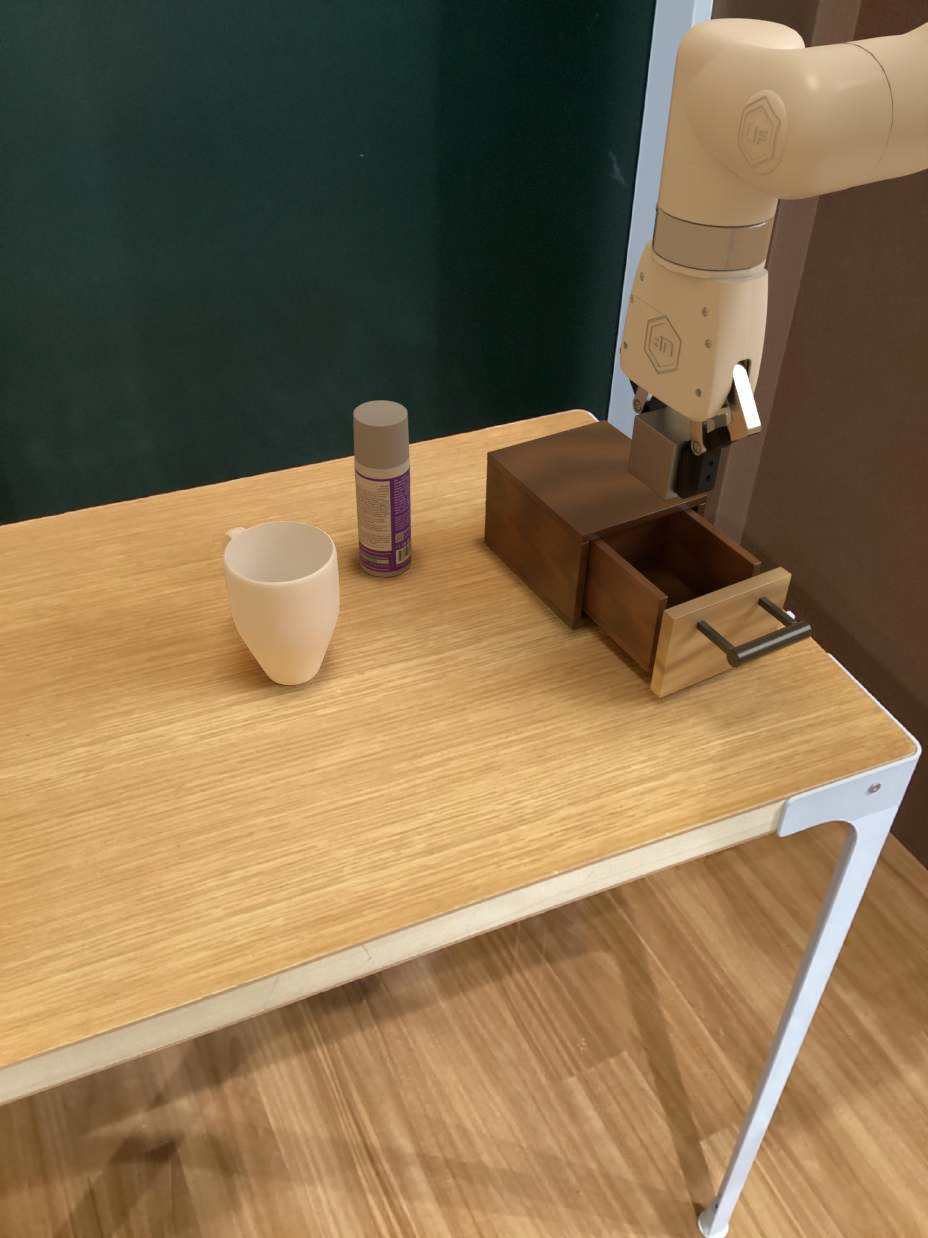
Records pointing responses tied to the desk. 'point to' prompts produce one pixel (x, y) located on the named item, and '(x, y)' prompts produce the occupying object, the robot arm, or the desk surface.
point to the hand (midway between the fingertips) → (672, 473)
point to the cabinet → (566, 508)
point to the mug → (283, 595)
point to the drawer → (686, 600)
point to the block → (660, 449)
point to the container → (382, 487)
